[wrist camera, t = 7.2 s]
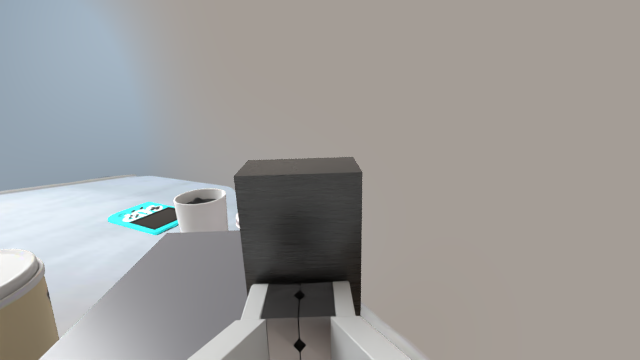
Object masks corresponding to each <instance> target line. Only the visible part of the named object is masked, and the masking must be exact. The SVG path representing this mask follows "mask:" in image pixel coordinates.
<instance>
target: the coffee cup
mask: <svg viewBox="0 0 640 360" xmlns="http://www.w3.org/2000/svg"><path fill="white" fill-rule="evenodd" d="M44 273H45V267H44V264H43V262H42V260H41V259H39V258H38V257H36V256H35V255H34V254H33V253H32V252H29V251H27V250H21V249H2V250H0V360H39V359H40V358H41V357H42V356H43V355H44V354H45V353H46V352H47V351H48V350H49V349H50V348H51V347H52V346H53V345H54V344H55V343H56V342H57V341H58V340H59V337H58V332H57V327H56V323H55V319H54V314H53V310H52V305H51V301H50V297H49V292H48V288H47V284H46V281H45V277H44Z"/></svg>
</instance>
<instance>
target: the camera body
mask: <svg viewBox="0 0 640 360" xmlns="http://www.w3.org/2000/svg"><path fill="white" fill-rule="evenodd" d="M247 298H248V297H247V288H246V280H245V271H244V262H243V253H242V244H241V235H240V231H212V232H184V233H167V234H166V235H165V236H164V237H163V238H162V239H161V240H159V241H158V242H157V243H156V244H155V245H154V246H153V247H152V248H151V249H150V250H149V251H148V252H147V253H146V254H145V255H144V256H143V257H142V258H141V259H140V260H139V261H138V262H137V263H136V264H135V265H134V266H133V267H132V268H131V269H130V270H129V271H128V272H127V273H126V274H125V275H124V276H123V277H122V278H121V279H120V280H119V281H118V282H117V283H116V284H115V285H114V286H113V287H112V288H111V289H110V290H109V291H108V292H107V293H106V294H105V295H104V296H103V297H102V298H101V299H100V300H99V301H98V302H97V303H96V304H95V305H94V306H93V307H92V308H91V309H89V310H88V311H87V312H86V313H85V314H84V315H83V316H82V317H81V318H80V319H79V320H78V321H77V322H76V323H75V324H74V325H73V326H72V327H71V328H70V329H69V330H68V331H67V332H66V333H65V334H64V335H63V336H62V337H61V338H60V339H59V340H58V341H57V342H56V343H55V344H54V345H53V346H52V347H51V348H50V349H49V350H48V351H47V352H46V353H45V354H44V355H43V356H42V357H41V358H40V359H39V360H187V359H188V358H190V357H191V356H192V355H193V354H195V353H196V352H197V351H198V350H200V349H201V348H202V347H203V346H204V345H206V344H207V343H208V342H209V341H211V340H212V339H213V338H214V337H216V336H217V335H218V334H219V333H221V332H222V331H223V330H224V329H226V328H227V327H228V326H229V325H230V324H232V323H233V322H234V321H235V320H241V317H242V314H243V310H244V307H245V304H246V301H247Z"/></svg>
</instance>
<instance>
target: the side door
mask: <svg viewBox="0 0 640 360" xmlns="http://www.w3.org/2000/svg"><path fill="white" fill-rule="evenodd" d="M234 182H235V191H236V200H237V209H238V217H239V226H240V235H241V244H242V253H243V262H244V271H245V280H246V288H247V297H248V295H249V292H250V288H251V286H252V285H253V284H275V283H300V285H301V284H303V283H323V282H335V281H348V282H349V284H350V289H351V294H352V299H353V305H354V310H355V315H356V316H360V311H361V230H362V228H361V227H362V225H361V224H362V171H361V169H360V168H359V166H358V164H357V163H356V161H355V159H354V158H353V157H340V158H308V159H279V160H278V159H277V160H248V161H247V162H246V163H245V165H244V166H243V167H242V168H241V169H240V170H239V171H238V172H237V174H236V175H235V176H234Z"/></svg>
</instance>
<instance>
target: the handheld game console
mask: <svg viewBox="0 0 640 360" xmlns="http://www.w3.org/2000/svg"><path fill="white" fill-rule="evenodd" d="M108 222H110V223H114V224H117V225H121V226H124V227H128V228H132V229H135V230H139V231H142V232H146V233H149V234H153V235H158V234H160V233H162V232H164V231H166V230H169V229H171V228H173V227H175V226H177V225H178V220H177V215H176V211H175V207H172V206H167V205H162V204H158V203H153V202H146V203H143V204H140V205H138V206H135V207H132V208H129V209H126V210H123V211H121V212H118V213H116V214H113V215H112V216H110V217H109V218H108Z"/></svg>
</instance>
